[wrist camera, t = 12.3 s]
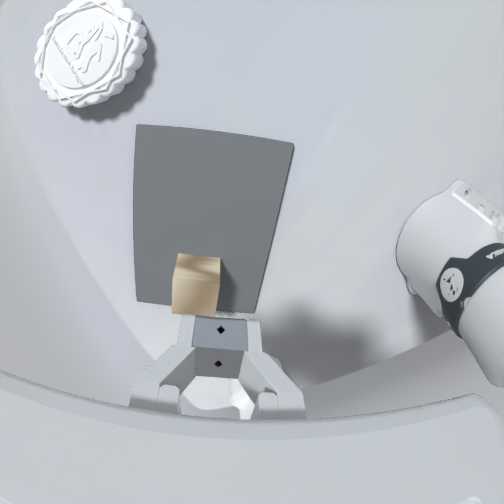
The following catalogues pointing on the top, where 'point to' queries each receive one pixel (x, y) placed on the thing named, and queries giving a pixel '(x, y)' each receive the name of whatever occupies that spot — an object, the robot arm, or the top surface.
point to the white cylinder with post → (244, 396)
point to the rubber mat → (205, 208)
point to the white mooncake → (90, 52)
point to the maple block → (195, 285)
